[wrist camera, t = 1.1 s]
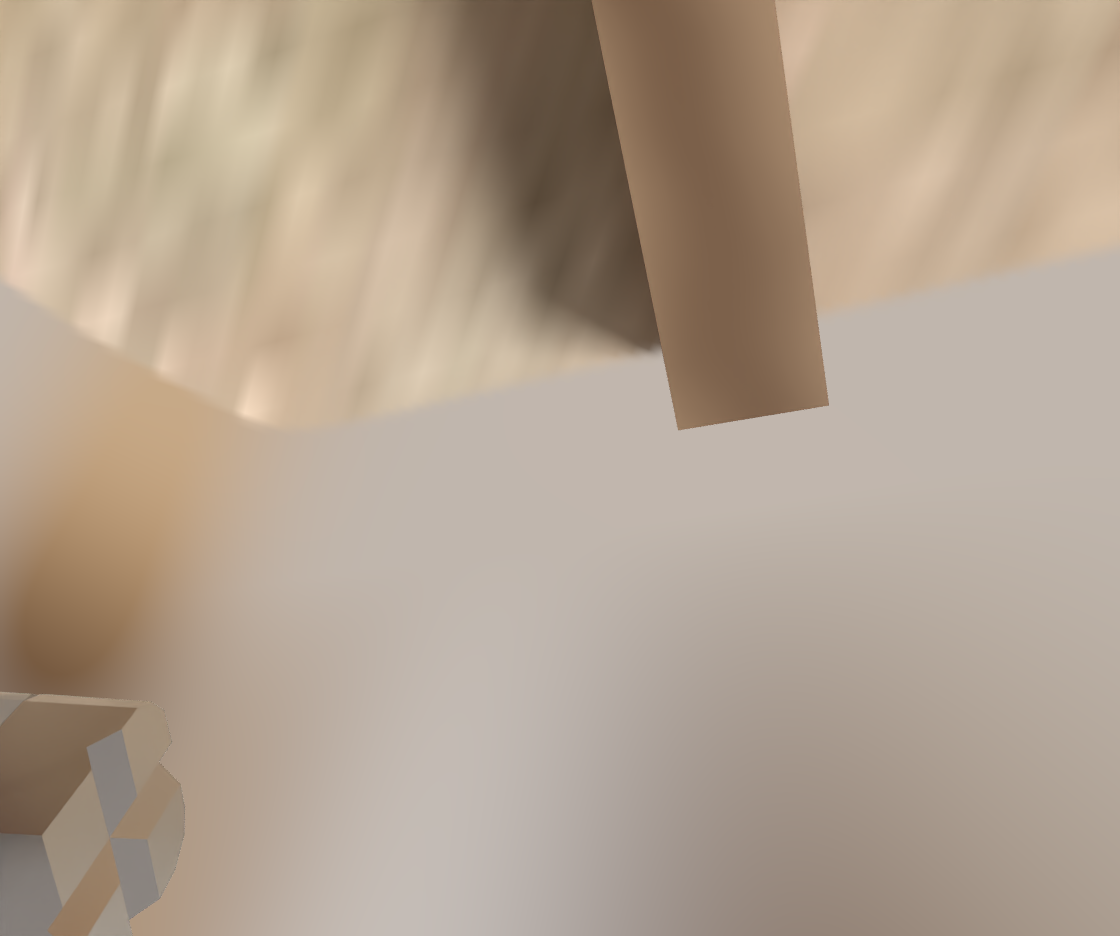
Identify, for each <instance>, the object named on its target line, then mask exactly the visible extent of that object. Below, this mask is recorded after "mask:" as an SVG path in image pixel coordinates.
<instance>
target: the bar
mask: <svg viewBox="0 0 1120 936" xmlns="http://www.w3.org/2000/svg"><path fill="white" fill-rule="evenodd" d="M591 1H592V6H593V11H594V16H595V21H596V26H597V31H598V36H599V41H600V46H601V51H602V56H603V60H604V65H605V70H606V75H607V80H608V85H609V90H610V95H611V100H612V105H613V110H614V115H615V120H616V125H617V130H618V135H619V140H620V145H621V150H622V155H623V159H624V164H625V169H626V174H627V179H628V184H629V189H630V194H631V199H632V204H633V209H634V214H635V219H636V224H637V229H638V234H639V239H640V244H641V249H642V254H643V258H644V263H645V268H646V273H647V278H648V283H649V288H650V293H651V298H652V303H653V308H654V313H655V318H656V323H657V328H658V333H659V338H660V343H661V348H662V353H663V357H664V362H665V367H666V372H667V377H668V382H669V387H670V392H671V397H672V402H673V407H674V412H675V417H676V422H677V427H678V430H682V429H689V428H695V427H701V426H707V425H713V424H719V423H725V422H731V421H737V420H744V419H749V418H755V417H762V416H768V415H774V414H780V413H785V412H792V411H798V410H804V409H810V408H816V407H822V406H828V405H829V403H828V395H827V388H826V380H825V372H824V366H823V358H822V350H821V342H820V335H819V327H818V320H817V313H816V305H815V298H814V290H813V283H812V275H811V268H810V260H809V253H808V245H807V238H806V231H805V223H804V216H803V208H802V201H801V193H800V186H799V178H798V171H797V163H796V156H795V149H794V141H793V134H792V126H791V119H790V111H789V104H788V96H787V89H786V81H785V74H784V66H783V59H782V52H781V44H780V37H779V29H778V22H777V14H776V7H775V0H591Z"/></svg>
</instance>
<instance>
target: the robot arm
mask: <svg viewBox="0 0 1120 936" xmlns="http://www.w3.org/2000/svg"><path fill="white" fill-rule="evenodd" d="M171 743H172V740H171V736H170V732H169V728H168V724H167V720H166V716H165V712H164V710H163V709H162V708H160V707H158V706H157V705H155V704H154V703H152V702H148V701H134V700H119V699H105V698H92V697H77V696H63V695H49V694H40V695H34V694H25V693H8V692H0V936H132V932H131V927H130V923H129V920H130V919H131V918H133V917H134V916H135V915H137V914H138V913H140V912H141V911H143V910H144V909H146V908H147V907H148V906H150V905H151V904H153V903H154V902H155V901H157V900H159V899H160V897H161V896H162V893H163V892H164V890H165V888H166V886H167V884H168V882H169V880H170V878H171V877H172V875H173V873H174V871H175V868H176V864H177V860H178V857H179V853H180V849H181V845H182V841H183V838H184V823H185V821H184V820H185V806H184V801H183V795H182V790H181V784H180V783H179V782H178V781H177V780H176V779H175V778H174V777H173V776H172V775H171V774H170V773H169V772H168V771H167V770H166V769H165V768H164V767H163V766H162V765H161V764H160V763H159V761H160V760H161V758H162V757H163V755H164V753H165V752H166V750H167V749H168V747H169V746H170V744H171Z"/></svg>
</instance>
